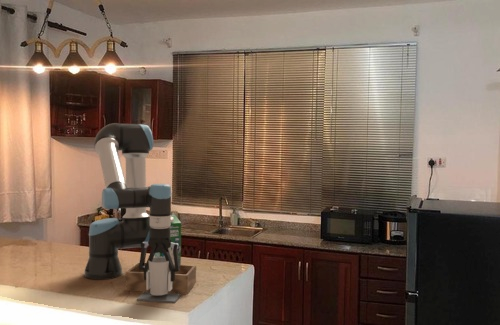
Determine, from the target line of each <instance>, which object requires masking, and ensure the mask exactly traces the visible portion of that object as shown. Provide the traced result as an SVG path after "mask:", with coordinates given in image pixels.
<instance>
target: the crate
mask: <svg viewBox="0 0 500 325" xmlns="http://www.w3.org/2000/svg"><path fill="white" fill-rule="evenodd" d="M139 263H140V262H137V263H136V264H135V265H134V266H132V267H131V268H130V269H128V270H127V271H126V272H125V291H131V292H150V289H149V290H146V280H144V271H143V270H140V269H139ZM145 265H146V262H145ZM145 265H144V266H145ZM174 267H175V264H174ZM148 270H149V269H148ZM169 272H170V271H169ZM196 283H197V265H196V264H195V265H194V264H193V265H192V264H181V265H180V270H179V271H177V272H175V280H174V281H173V282H172V290H171V291H168V293H175V294H181V295H183V294H185V295H188V294H189V293H190V292H191V291H192V289H193V287H194V286H195V285H196Z"/></svg>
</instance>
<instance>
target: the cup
mask: <svg viewBox="0 0 500 325" xmlns="http://www.w3.org/2000/svg"><path fill="white" fill-rule="evenodd" d="M147 260H148V259H147ZM148 262H149V273H150V293H151V294H152V295H165V294H167V293H168V273H169V271H170V269H169V267H168V266H169V261H166V259H165V257H155V258H153V260H152V262H151V261H149V260H148Z"/></svg>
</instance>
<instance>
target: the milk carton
mask: <svg viewBox="0 0 500 325" xmlns="http://www.w3.org/2000/svg"><path fill="white" fill-rule="evenodd" d="M169 227H170V228H171V236H170V239H171V242H172V243H179V247H178V253H179V261H180V265H182V264H181V262H182V260H181V258H182V256H181V255H182V248H181V247H182V222H181V221H180V220H179V218H178V217H177V215H176V214H171V225H170V226H169ZM168 249H169V252H170V256H171V259H172V261H173V264H175V263H174V256H173V249H172V246H170V247H169V248H168ZM155 257H165V256H164V255H163V253H159V252H158V253H155V255H154V258H155Z"/></svg>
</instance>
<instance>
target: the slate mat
mask: <svg viewBox="0 0 500 325" xmlns="http://www.w3.org/2000/svg"><path fill="white" fill-rule="evenodd" d="M181 296H182V294H180V293H167V294H165V295H152V294H151V293H150V292H145V291H143V292H142V293H141V294H140V295H139V296H138V297H137V298H136V302H152V303H153V302H154V303H167V304H168V303H169V304H175V303H176V302H177V301H178V300H179V299H180V298H181Z"/></svg>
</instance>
